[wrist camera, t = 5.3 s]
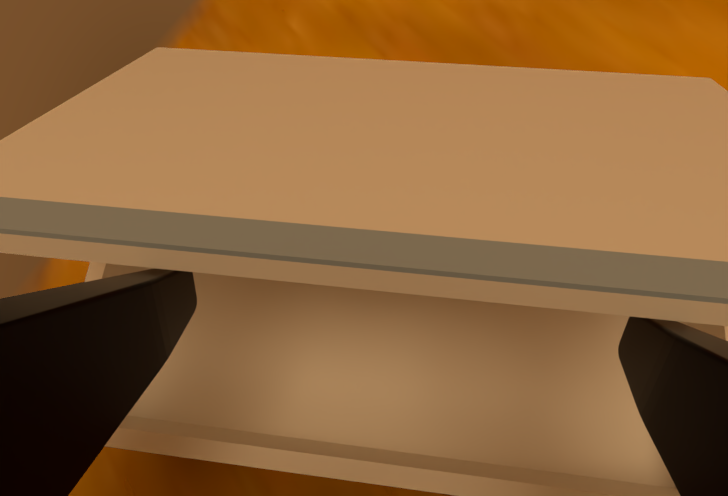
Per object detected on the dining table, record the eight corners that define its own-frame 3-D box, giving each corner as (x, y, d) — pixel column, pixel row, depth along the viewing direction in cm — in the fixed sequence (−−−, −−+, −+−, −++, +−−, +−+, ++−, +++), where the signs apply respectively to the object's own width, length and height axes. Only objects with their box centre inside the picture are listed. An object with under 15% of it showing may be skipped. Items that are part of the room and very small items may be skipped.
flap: (1027, 356, 8) (1063, 331, 7) (-119, 240, 9) (-139, 214, 9) (703, 91, 17) (711, 74, 16) (160, 60, 19) (156, 44, 18)
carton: (684, 505, 17) (768, 538, 13) (110, 427, 19) (39, 437, 15) (659, 157, 21) (719, 105, 17) (187, 124, 23) (145, 70, 19)
